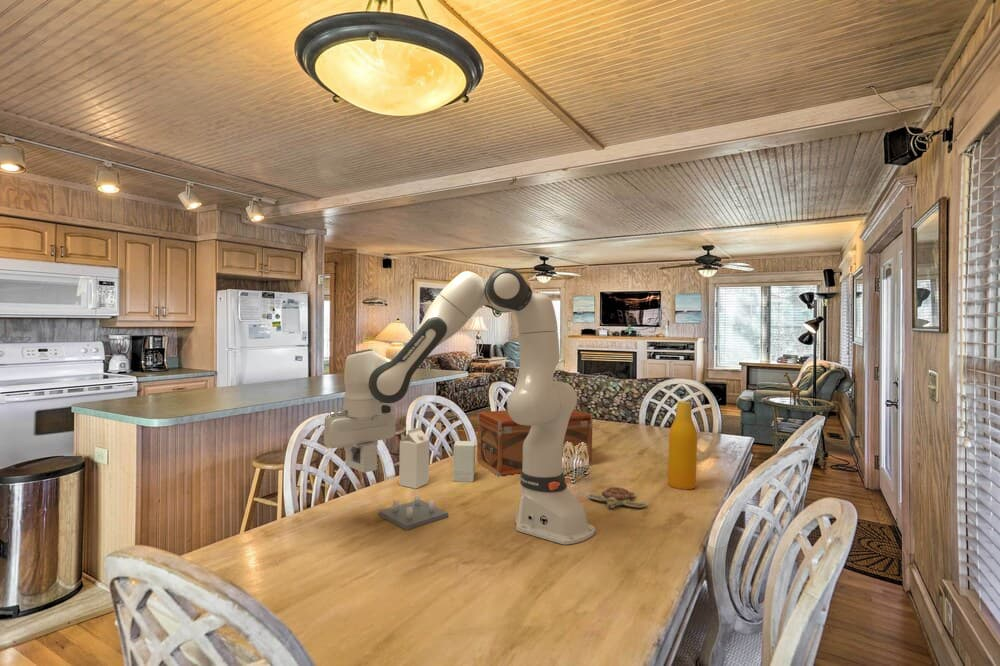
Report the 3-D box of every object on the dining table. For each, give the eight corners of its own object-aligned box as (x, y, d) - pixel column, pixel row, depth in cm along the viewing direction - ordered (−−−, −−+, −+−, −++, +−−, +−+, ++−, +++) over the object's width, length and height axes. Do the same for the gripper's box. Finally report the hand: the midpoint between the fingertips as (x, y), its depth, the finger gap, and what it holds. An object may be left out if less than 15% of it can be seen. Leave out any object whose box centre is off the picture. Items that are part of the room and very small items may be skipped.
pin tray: (448, 516, 145) (448, 502, 145) (406, 530, 136) (406, 514, 136) (419, 503, 155) (419, 489, 155) (378, 515, 146) (379, 500, 146)
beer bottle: (691, 482, 182) (694, 400, 181) (699, 490, 172) (701, 405, 172) (664, 480, 182) (667, 399, 182) (670, 489, 173) (673, 404, 172)
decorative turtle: (580, 506, 157) (580, 490, 157) (596, 490, 172) (596, 476, 172) (639, 518, 149) (640, 500, 148) (651, 500, 163) (652, 485, 163)
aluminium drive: (377, 469, 139) (377, 443, 139) (363, 472, 136) (363, 446, 136) (358, 462, 146) (358, 438, 146) (345, 465, 143) (345, 440, 143)
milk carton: (398, 485, 172) (399, 429, 171) (412, 479, 178) (412, 425, 178) (416, 489, 168) (416, 431, 168) (428, 483, 175) (429, 427, 174)
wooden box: (475, 462, 202) (476, 412, 201) (564, 453, 219) (565, 406, 218) (497, 477, 183) (498, 421, 183) (592, 465, 200) (593, 415, 200)
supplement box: (473, 482, 177) (474, 445, 177) (452, 481, 177) (453, 445, 177) (475, 475, 184) (475, 440, 184) (454, 475, 184) (455, 440, 184)
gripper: (330, 414, 131) (330, 468, 131) (398, 406, 145) (398, 454, 146) (319, 411, 136) (319, 463, 136) (386, 403, 150) (386, 450, 150)
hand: (361, 458), depth 141 cm, fingers closed on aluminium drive, 4 cm apart
